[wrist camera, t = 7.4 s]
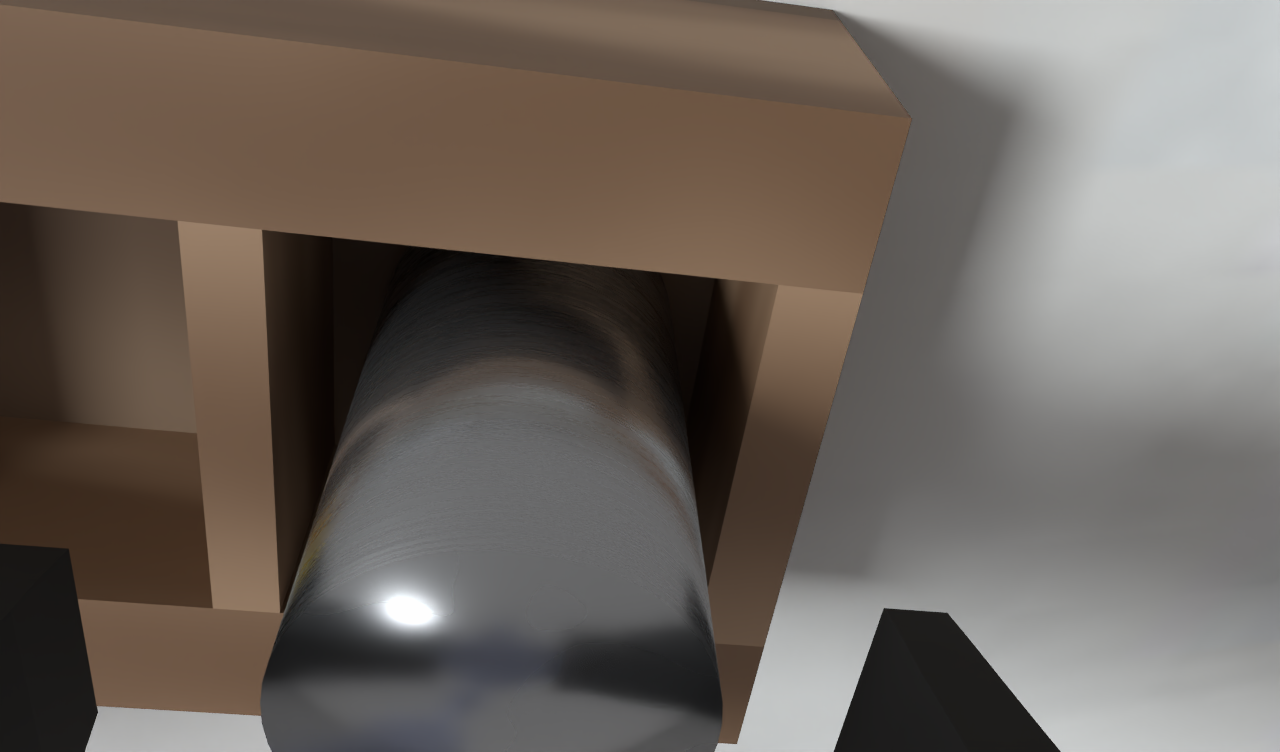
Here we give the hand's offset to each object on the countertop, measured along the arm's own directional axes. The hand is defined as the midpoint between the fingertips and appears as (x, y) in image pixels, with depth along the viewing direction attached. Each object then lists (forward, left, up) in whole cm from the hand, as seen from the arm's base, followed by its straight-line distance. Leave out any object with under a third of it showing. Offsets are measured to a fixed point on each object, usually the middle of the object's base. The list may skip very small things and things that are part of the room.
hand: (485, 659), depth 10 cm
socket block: (0, +3, -7) cm, 8 cm away
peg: (0, 0, -6) cm, 6 cm away
